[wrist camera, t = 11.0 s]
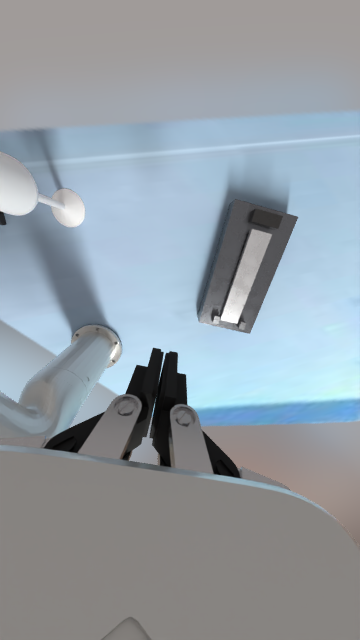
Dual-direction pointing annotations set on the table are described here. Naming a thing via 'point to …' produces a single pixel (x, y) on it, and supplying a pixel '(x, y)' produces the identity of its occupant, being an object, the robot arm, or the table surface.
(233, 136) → the table surface
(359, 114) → the table surface
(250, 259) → the strap
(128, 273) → the table surface
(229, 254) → the block
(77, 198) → the champagne flute
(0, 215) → the phone stand
